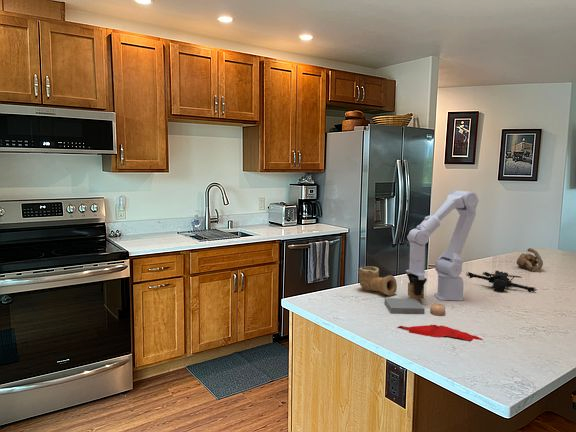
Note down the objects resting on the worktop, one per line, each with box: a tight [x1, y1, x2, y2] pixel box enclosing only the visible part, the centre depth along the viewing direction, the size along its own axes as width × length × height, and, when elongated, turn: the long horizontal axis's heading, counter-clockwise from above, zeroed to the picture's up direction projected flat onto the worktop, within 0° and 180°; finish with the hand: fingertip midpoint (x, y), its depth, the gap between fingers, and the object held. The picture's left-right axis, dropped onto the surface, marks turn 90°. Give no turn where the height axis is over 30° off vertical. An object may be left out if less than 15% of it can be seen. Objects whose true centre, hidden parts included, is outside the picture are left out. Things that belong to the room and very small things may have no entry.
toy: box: [465, 270, 538, 293], centre depth 196 cm, size 29×7×30 cm
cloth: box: [396, 324, 484, 342], centre depth 137 cm, size 26×14×2 cm, turn 58°
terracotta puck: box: [429, 303, 446, 317], centre depth 155 cm, size 5×5×3 cm
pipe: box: [357, 265, 398, 297], centre depth 181 cm, size 9×16×10 cm, turn 45°
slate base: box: [383, 297, 426, 315], centre depth 160 cm, size 12×12×2 cm
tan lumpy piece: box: [516, 247, 544, 273], centre depth 228 cm, size 13×9×15 cm
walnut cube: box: [407, 282, 425, 300], centre depth 170 cm, size 5×5×5 cm
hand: (415, 293), depth 170 cm, fingers closed on walnut cube, 5 cm apart
